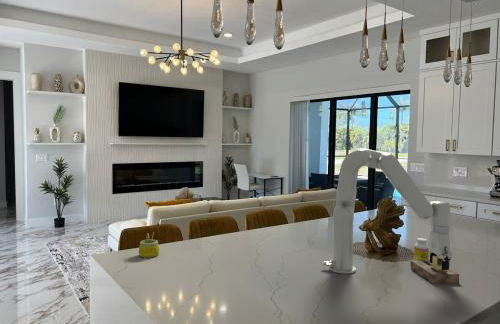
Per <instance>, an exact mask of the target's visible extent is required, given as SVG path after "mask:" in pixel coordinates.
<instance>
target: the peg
mask: <svg viewBox="0 0 500 324" xmlns="http://www.w3.org/2000/svg"><path fill="white" fill-rule="evenodd" d="M442 261H443V259H442V257H441V256H438V255H437V256H433V265H432V270H433V271H435V272H446V270H442Z"/></svg>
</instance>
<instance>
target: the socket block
mask: <svg viewBox="0 0 500 324" xmlns="http://www.w3.org/2000/svg"><path fill="white" fill-rule="evenodd" d="M432 265H433V263H430V259H428V260H422V261H414V260H410V270H412V271H413V272H414V273H416V274H418V275H419V276H421V277H422V278H424V279H425V280H427V281H429V282H430V283H432V285H433V284H460V273H458V272H457V271H454V270H453V269H451V268H449V270H446V272H435V271H433V270H432Z"/></svg>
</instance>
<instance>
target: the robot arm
mask: <svg viewBox="0 0 500 324" xmlns="http://www.w3.org/2000/svg"><path fill="white" fill-rule="evenodd" d="M363 167H365V168H366V167H367V168H370V169H371V168H372V169H378V170H381V172H382V173H383V174H384V176H385V177H386V178H387V179H388V181H389V182H390V184H391V185H392V186H393V188H394V189H395V190H396V191H397V192H398V194H399V195H401V197H402V198H403V199H404V201H405V202H406V203H407V204H408V206H409V207H410V208H411V209H412V211H413V212H414V214H415V215H416V216H417V217H418V218H419V219H422V220H428V219H430V218H431V219H430V230H429V231H430V232H429V237H428V239H429V240H428V243H427V245H428V246H429V260H430V263H433V256H441V257H442V259H443V261H442V270H449V269H450V262H451V259H452V255H453V253H452V251H451V244H450V243H451V241H450V240H451V239H450V232H451V231H450V229H451V228H450V226H451V225H450V224H451V205H450V202H447V201H444V200H443V201H442V200H436V201H434V200H427V197H426V196H425V195H424V193H422V191H421V190H420V188H419V187H418V186H417V185H416V182H415V181H414V180H413V178H412V177H411V175H409V173H408V172H407V170H406V169H405V167H403V165H402V163H400V161H399V160H398V159H397V157H396V156H395V155H393V154H392V153H389V152H383V151H377V150H372V149H368V148H358V149H355V150H354V151H351V152H350V153H348V154H346V156H345V157H344V159H343V160H342V162H341V165H340V169H339V175H338V182H337V187H336V192H335V193H336V197H335V206H334V210H333V212H332V258H331V259H330V260H328V261H322V266H326V267H329V268H328V269H329V271H331V272H334V273H337V274H343V275H347V274H354V273H355V272H357V267H355V266H354V265H353V264H354V261H353V260H354V258H353V257H354V215H355V206H356V200H357V199H356V198H357V182H358V178H359V177H358V175H359V171H360V169H361V168H363Z"/></svg>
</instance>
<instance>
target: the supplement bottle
mask: <svg viewBox="0 0 500 324" xmlns="http://www.w3.org/2000/svg"><path fill="white" fill-rule="evenodd" d="M427 242H428V239H427V238H422V237H418V238H416V243H415V244H414V250H413V251H414V256H413V261H422V260H429V258H430V253H429V252H430V251H429V245H428V243H427Z"/></svg>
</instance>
